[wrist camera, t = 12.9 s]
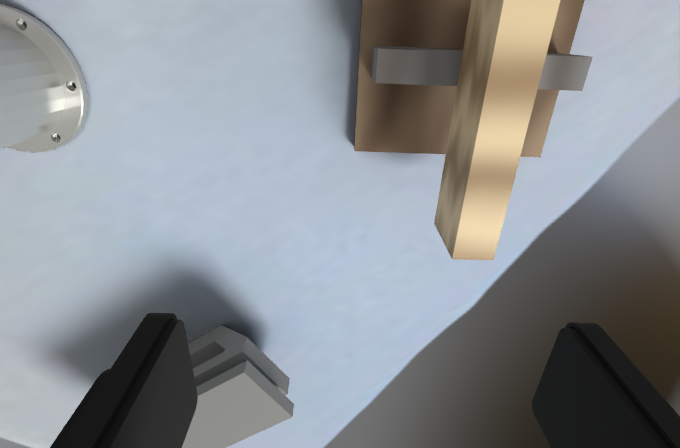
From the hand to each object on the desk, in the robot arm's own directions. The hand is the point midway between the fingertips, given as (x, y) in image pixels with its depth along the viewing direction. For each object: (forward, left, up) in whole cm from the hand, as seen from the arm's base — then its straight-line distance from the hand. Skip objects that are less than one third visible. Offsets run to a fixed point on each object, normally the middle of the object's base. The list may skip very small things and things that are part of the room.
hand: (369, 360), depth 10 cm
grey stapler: (-17, -33, -31) cm, 48 cm away
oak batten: (+10, +5, -24) cm, 26 cm away
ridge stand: (+10, +5, -30) cm, 32 cm away
